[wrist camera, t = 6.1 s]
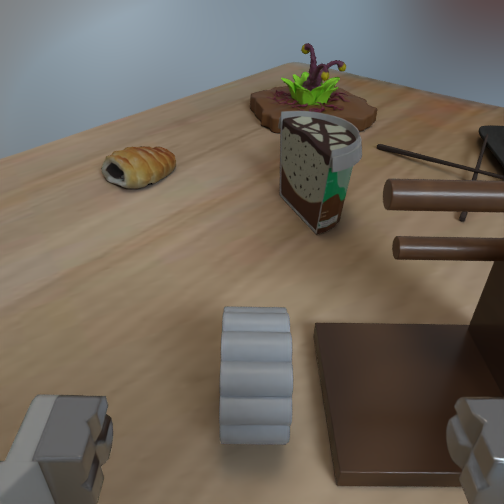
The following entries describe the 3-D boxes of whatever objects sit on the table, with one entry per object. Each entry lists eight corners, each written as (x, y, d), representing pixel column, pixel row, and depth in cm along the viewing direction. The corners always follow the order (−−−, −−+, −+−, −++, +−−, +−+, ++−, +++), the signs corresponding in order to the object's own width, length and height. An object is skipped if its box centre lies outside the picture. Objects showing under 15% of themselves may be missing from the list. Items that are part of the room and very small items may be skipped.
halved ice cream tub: (372, 231, 52) (390, 143, 46) (323, 241, 50) (335, 152, 44) (318, 182, 61) (327, 104, 56) (274, 189, 59) (279, 110, 54)
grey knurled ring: (220, 470, 29) (218, 382, 25) (225, 367, 36) (224, 282, 31) (285, 471, 29) (296, 383, 25) (278, 367, 36) (285, 283, 31)
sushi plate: (679, 244, 52) (699, 213, 49) (395, 222, 54) (402, 191, 52) (565, 141, 75) (575, 117, 73) (371, 129, 77) (375, 105, 75)
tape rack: (336, 486, 29) (435, 70, 15) (313, 335, 39) (359, 6, 25) (583, 487, 29) (905, 82, 15) (496, 338, 39) (640, 14, 25)
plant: (327, 92, 93) (334, 30, 86) (392, 126, 78) (406, 54, 72) (232, 105, 85) (232, 37, 79) (285, 145, 71) (291, 66, 65)
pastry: (155, 156, 67) (152, 130, 64) (189, 171, 63) (188, 144, 61) (98, 179, 61) (93, 150, 58) (132, 196, 57) (128, 167, 55)
